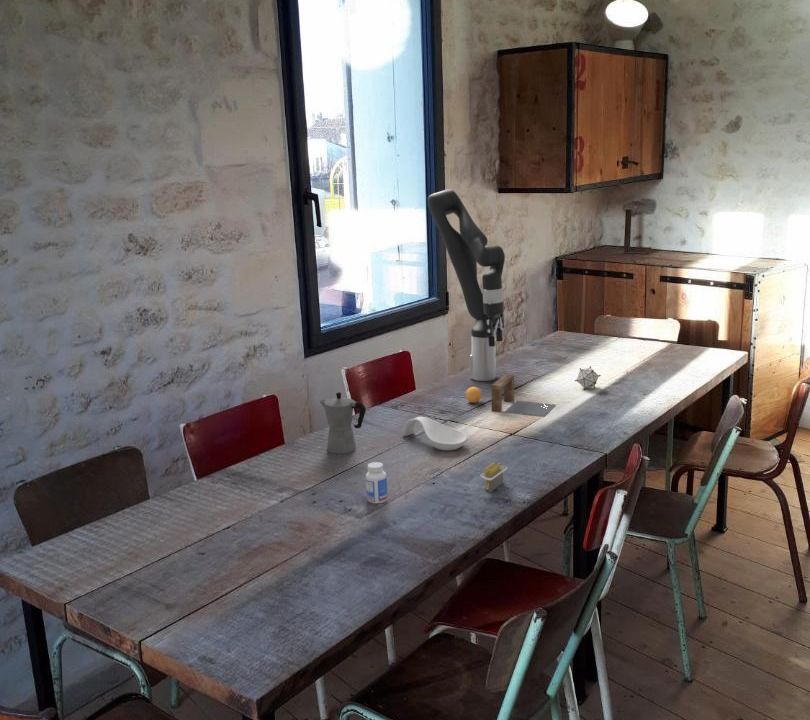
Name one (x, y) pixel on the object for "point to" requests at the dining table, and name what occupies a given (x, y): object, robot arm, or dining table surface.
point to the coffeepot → (341, 423)
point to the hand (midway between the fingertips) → (495, 343)
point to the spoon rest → (437, 433)
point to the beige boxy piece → (493, 476)
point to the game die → (587, 378)
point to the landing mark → (530, 408)
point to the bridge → (497, 392)
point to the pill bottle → (376, 483)
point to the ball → (473, 394)
